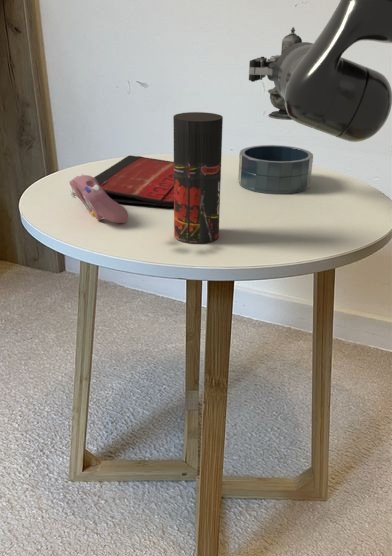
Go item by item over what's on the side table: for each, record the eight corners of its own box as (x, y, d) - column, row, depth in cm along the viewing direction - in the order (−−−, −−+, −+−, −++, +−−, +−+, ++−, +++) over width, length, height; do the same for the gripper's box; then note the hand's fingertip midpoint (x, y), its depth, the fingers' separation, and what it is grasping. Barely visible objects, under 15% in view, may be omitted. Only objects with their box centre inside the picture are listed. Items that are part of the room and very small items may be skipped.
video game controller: (83, 216, 90) (58, 177, 85) (108, 200, 91) (84, 159, 86) (106, 238, 82) (80, 196, 78) (133, 219, 83) (108, 177, 79)
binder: (77, 184, 91) (127, 153, 108) (78, 199, 92) (127, 166, 109) (178, 199, 87) (213, 164, 105) (177, 214, 89) (212, 178, 106)
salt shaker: (285, 111, 94) (292, 25, 88) (313, 117, 91) (323, 27, 84) (258, 115, 91) (263, 26, 85) (286, 121, 87) (294, 28, 81)
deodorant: (172, 228, 82) (171, 112, 74) (215, 227, 83) (218, 111, 75) (176, 244, 77) (175, 121, 69) (222, 242, 78) (226, 121, 70)
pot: (309, 176, 106) (312, 146, 103) (309, 196, 96) (313, 164, 93) (241, 172, 107) (243, 143, 105) (235, 191, 97) (236, 160, 94)
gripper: (368, 45, 73) (336, 36, 88) (253, 43, 73) (240, 35, 88) (359, 110, 77) (330, 91, 92) (250, 109, 77) (238, 90, 92)
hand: (286, 64), depth 90 cm, fingers closed on salt shaker, 3 cm apart
